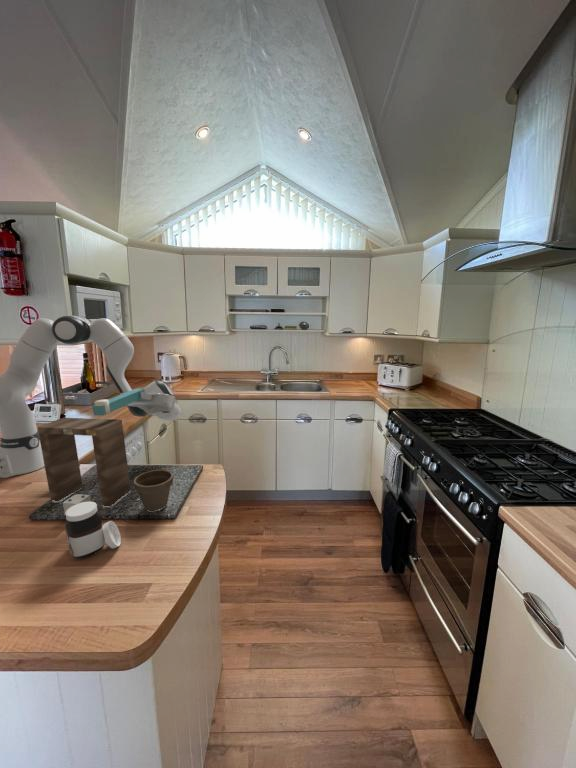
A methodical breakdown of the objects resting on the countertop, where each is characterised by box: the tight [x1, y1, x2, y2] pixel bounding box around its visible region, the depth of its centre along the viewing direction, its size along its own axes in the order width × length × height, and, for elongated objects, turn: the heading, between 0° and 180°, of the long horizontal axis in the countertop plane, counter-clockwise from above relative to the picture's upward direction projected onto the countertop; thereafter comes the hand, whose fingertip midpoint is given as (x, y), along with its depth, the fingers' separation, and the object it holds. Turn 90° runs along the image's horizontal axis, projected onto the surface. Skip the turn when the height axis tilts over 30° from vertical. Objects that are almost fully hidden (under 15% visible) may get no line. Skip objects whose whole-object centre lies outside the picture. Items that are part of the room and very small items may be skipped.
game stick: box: [91, 388, 145, 416], centre depth 114 cm, size 4×22×4 cm, turn 170°
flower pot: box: [133, 469, 174, 511], centre depth 105 cm, size 12×11×10 cm
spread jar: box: [64, 501, 122, 560], centre depth 86 cm, size 12×11×12 cm
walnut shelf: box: [37, 417, 132, 506], centre depth 110 cm, size 22×10×26 cm, turn 80°
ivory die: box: [62, 493, 92, 514], centre depth 103 cm, size 5×5×5 cm
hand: (134, 394), depth 121 cm, fingers closed on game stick, 3 cm apart
